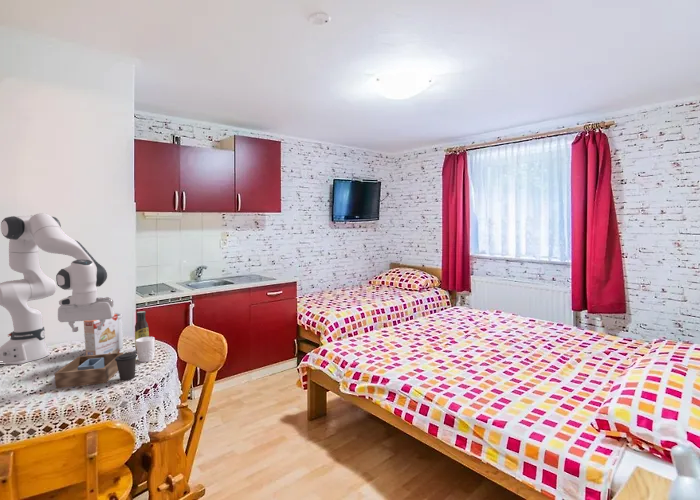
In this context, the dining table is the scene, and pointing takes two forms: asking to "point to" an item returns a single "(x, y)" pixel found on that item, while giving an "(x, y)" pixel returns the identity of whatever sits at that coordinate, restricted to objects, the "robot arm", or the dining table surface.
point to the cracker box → (101, 337)
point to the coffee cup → (126, 366)
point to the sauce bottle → (141, 327)
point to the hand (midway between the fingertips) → (88, 330)
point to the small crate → (92, 364)
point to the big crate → (87, 371)
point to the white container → (120, 330)
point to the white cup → (145, 349)
